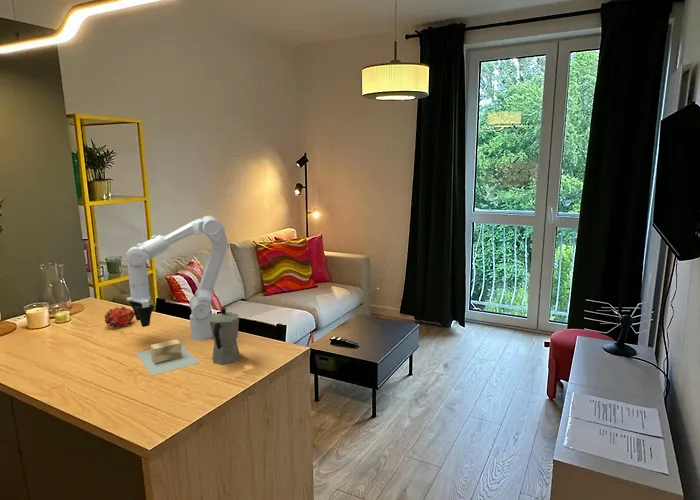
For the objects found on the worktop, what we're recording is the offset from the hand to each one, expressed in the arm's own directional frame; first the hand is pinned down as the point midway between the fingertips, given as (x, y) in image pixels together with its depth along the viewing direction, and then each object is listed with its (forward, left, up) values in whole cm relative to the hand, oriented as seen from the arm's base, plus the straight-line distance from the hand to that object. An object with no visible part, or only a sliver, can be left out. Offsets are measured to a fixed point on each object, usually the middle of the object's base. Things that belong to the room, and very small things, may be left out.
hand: (142, 322), depth 151 cm
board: (-3, +15, -9) cm, 18 cm away
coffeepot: (-17, +28, -10) cm, 34 cm away
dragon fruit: (+2, -30, -10) cm, 32 cm away
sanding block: (-3, +16, -8) cm, 18 cm away
